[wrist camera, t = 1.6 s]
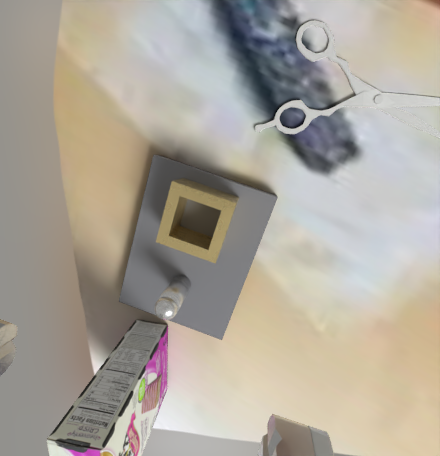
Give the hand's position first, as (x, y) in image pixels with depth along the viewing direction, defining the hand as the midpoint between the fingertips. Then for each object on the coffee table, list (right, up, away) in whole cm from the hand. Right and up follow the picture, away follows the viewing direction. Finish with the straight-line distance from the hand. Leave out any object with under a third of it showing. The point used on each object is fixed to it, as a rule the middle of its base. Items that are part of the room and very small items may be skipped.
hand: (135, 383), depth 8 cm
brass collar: (+1, +6, +22) cm, 22 cm away
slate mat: (-1, +2, +24) cm, 24 cm away
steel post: (-2, -2, +24) cm, 24 cm away
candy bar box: (-7, -13, +30) cm, 33 cm away
